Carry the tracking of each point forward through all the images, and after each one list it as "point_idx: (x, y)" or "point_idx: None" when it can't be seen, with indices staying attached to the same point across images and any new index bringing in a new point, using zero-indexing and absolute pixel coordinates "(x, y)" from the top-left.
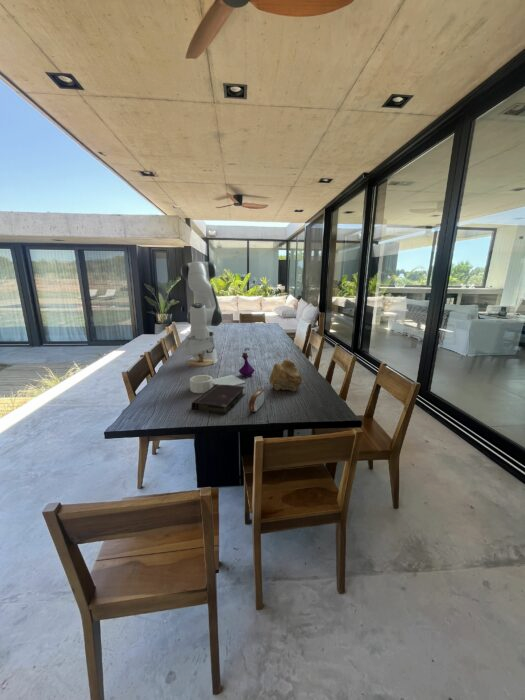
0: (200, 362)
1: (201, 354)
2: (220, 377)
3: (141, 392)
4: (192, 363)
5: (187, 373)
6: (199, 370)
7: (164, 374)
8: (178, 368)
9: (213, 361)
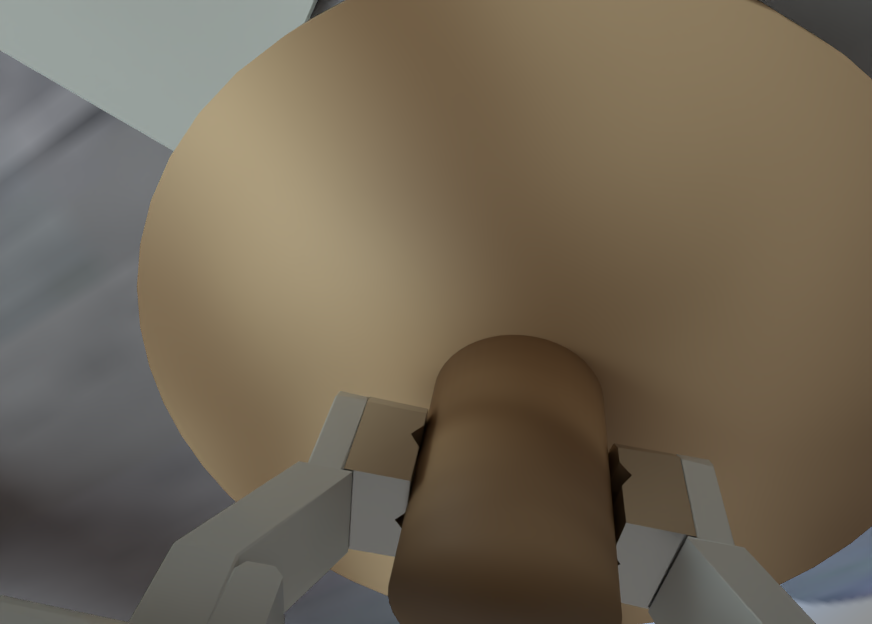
0: (629, 361)
1: (514, 572)
2: (55, 78)
3: (799, 597)
4: (787, 499)
5: (195, 484)
6: (52, 427)
7: (332, 614)
8: (148, 586)
9: (321, 15)
